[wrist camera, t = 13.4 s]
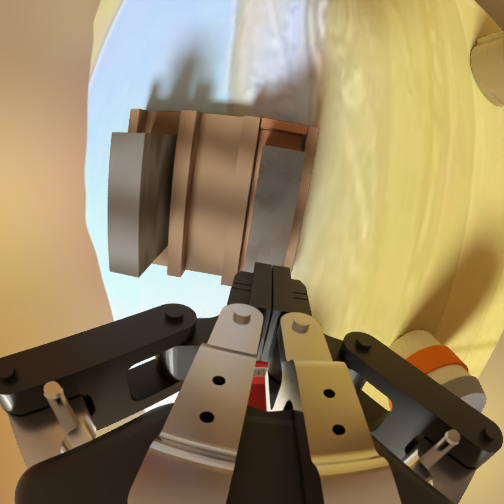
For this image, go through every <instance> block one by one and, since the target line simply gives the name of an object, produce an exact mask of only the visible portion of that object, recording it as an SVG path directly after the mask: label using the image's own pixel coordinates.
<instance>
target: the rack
mask: <svg viewBox="0 0 504 504" xmlns="http://www.w3.org/2000/svg"><path fill="white" fill-rule="evenodd" d="M318 134H319V128H317V127H312V126H307V125H302V124H297V123H291V122H286V121H280V120H274V119H268V118H262V120H261V118H260V117H254V116H246V115H244V117H238V116H229V115H220V114H208V113H201V112H198V111H194V110H181V112H177V111H147V110H142V109H131V112H130V119H129V127H128V133H120V132H112V138H111V148H110V161H109V179H108V250H109V268H110V271H111V272H116V273H120V274H125V275H130V276H134V277H140V276H141V274H142V273H143V272H144V271H145V270H146V269H147V268H148V267H149V266H150V265H151V263H152V264H158V265H163V266H168V267H167V275H171V276H176V277H181V276H182V274H183V273H184V271H185V270H191V271H197V272H203V273H208V274H214V275H220V276H222V279H221V285H227V286H232V284H233V280H234V276H235V275H236V274H237V273H239V272H240V271H243V270H244V263H245V257H246V250H247V243H248V237H249V230H250V224H251V217H252V211H253V204H254V198H255V192H256V185H257V179H258V172H259V166H260V160H261V153H262V147H263V145H267V146H274V147H280V148H285V149H291V150H296V151H302V152H306V154H305V159H304V165H303V171H302V176H301V182H300V187H299V193H298V198H297V203H296V208H295V214H294V219H293V224H292V229H291V234H290V239H289V244H288V249H287V254H286V258H285V263H284V267H289V268H290V274H291V271H292V267H293V262H294V258H295V253H296V249H297V244H298V239H299V235H300V230H301V225H302V220H303V215H304V210H305V205H306V200H307V195H308V190H309V184H310V179H311V174H312V168H313V163H314V157H315V151H316V146H317V140H318Z"/></svg>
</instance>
